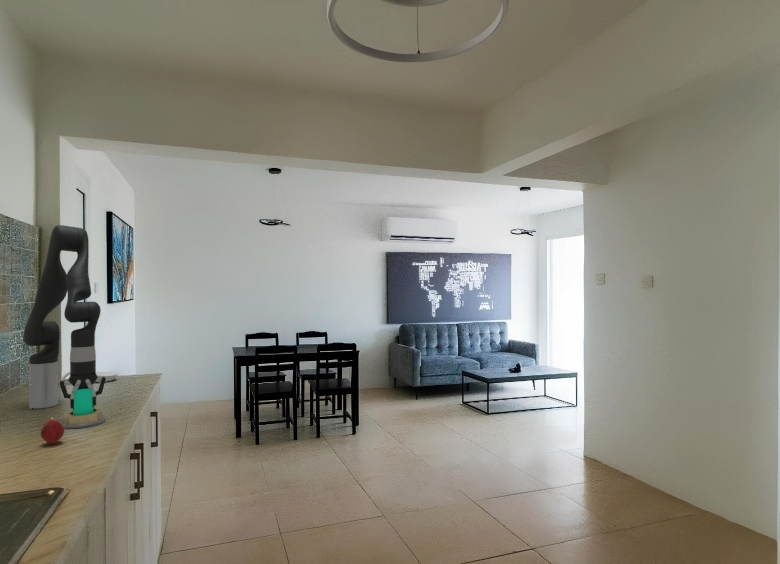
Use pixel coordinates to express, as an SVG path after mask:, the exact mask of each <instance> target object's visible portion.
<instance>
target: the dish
mask: <svg viewBox="0 0 780 564" xmlns="http://www.w3.org/2000/svg"><path fill="white" fill-rule="evenodd" d="M103 422H104V423H105V422H106V416H104V415H102V419H101V420H99V421H97V422H93V423H89V424H83V425H66V424H64V420H63V421H61V422H60V423H61V424H62V425H63V427H64V428H65V429H64V430H77V429H78V430H80V429H86V428H92V427H96V426H99V425H101V423H102V424H103ZM98 424H99V425H98ZM95 425H96V426H95ZM91 426H92V427H91ZM79 428H80V429H79Z"/></svg>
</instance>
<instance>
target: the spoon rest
mask: <svg viewBox="0 0 780 564" xmlns="http://www.w3.org/2000/svg"><path fill="white" fill-rule="evenodd" d="M96 375H97V376H99V377H103V376H105V378H106V380H105V383H108V381H109V382H111V381H113V380H115V379H116V378H117V377H118V373H116V372H109V371H108V372H107V371H105V372H104V371H96ZM68 376H70V370H69V371H67V372H65V373H64V374H63V376H62V377H61V379H60V381H61V380H66V378H67V377H68ZM96 382H98V379H97V380H96V381H95V382H94V383H96Z"/></svg>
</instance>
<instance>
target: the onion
mask: <svg viewBox="0 0 780 564" xmlns="http://www.w3.org/2000/svg"><path fill="white" fill-rule="evenodd" d="M61 423H62V422H60V421H58V420H56V419H55V418H54V417H52V416H51V418H50V419H49V421H48V422H47V423H45V424H44V425H43V427H42V429H40V437H41V439H43V441H45V442H46V443H48V444H50V445H54V444H56V442H58V441H59V440H61V438H62V437H63V436H64V432H65V429H64V427H63V425H62V424H61Z"/></svg>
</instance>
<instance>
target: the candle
mask: <svg viewBox="0 0 780 564" xmlns="http://www.w3.org/2000/svg"><path fill="white" fill-rule="evenodd" d="M92 397H93V396H92V389H89V388H88V389H85V388H83V389H75V393H74V410H73V409H72V410H73V415H83V414H89V413H93V412H94V408H95V407H93V400H92Z"/></svg>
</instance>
